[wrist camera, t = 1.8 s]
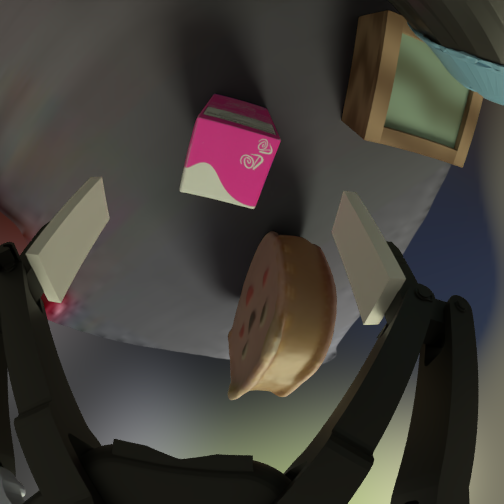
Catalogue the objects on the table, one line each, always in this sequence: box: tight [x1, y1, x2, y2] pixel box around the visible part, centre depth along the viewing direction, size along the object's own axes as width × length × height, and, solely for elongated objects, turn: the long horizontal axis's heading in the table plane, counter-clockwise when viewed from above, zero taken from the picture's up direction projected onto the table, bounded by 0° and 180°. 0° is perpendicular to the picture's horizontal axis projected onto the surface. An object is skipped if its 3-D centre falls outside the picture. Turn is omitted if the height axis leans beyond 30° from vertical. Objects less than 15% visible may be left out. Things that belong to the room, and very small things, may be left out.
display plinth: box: [341, 10, 483, 167], centre depth 20 cm, size 12×12×7 cm
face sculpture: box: [228, 231, 337, 400], centre depth 34 cm, size 20×7×17 cm, turn 164°
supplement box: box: [179, 94, 281, 209], centre depth 23 cm, size 6×6×12 cm
